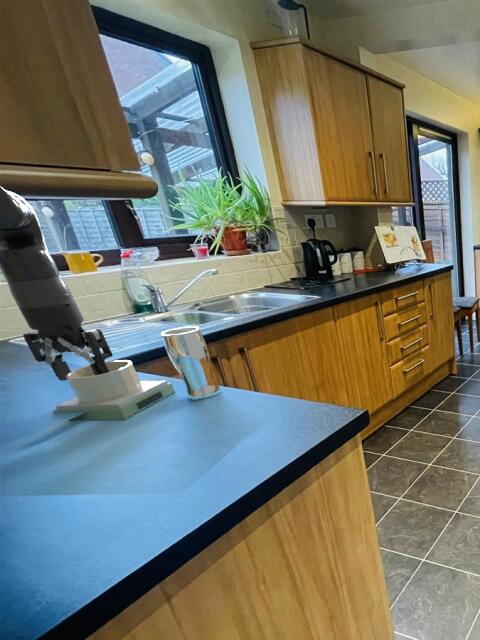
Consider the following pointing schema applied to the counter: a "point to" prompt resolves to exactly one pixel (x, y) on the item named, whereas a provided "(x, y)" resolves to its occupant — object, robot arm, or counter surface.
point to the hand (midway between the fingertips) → (85, 378)
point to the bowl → (104, 382)
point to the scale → (118, 403)
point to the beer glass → (191, 361)
